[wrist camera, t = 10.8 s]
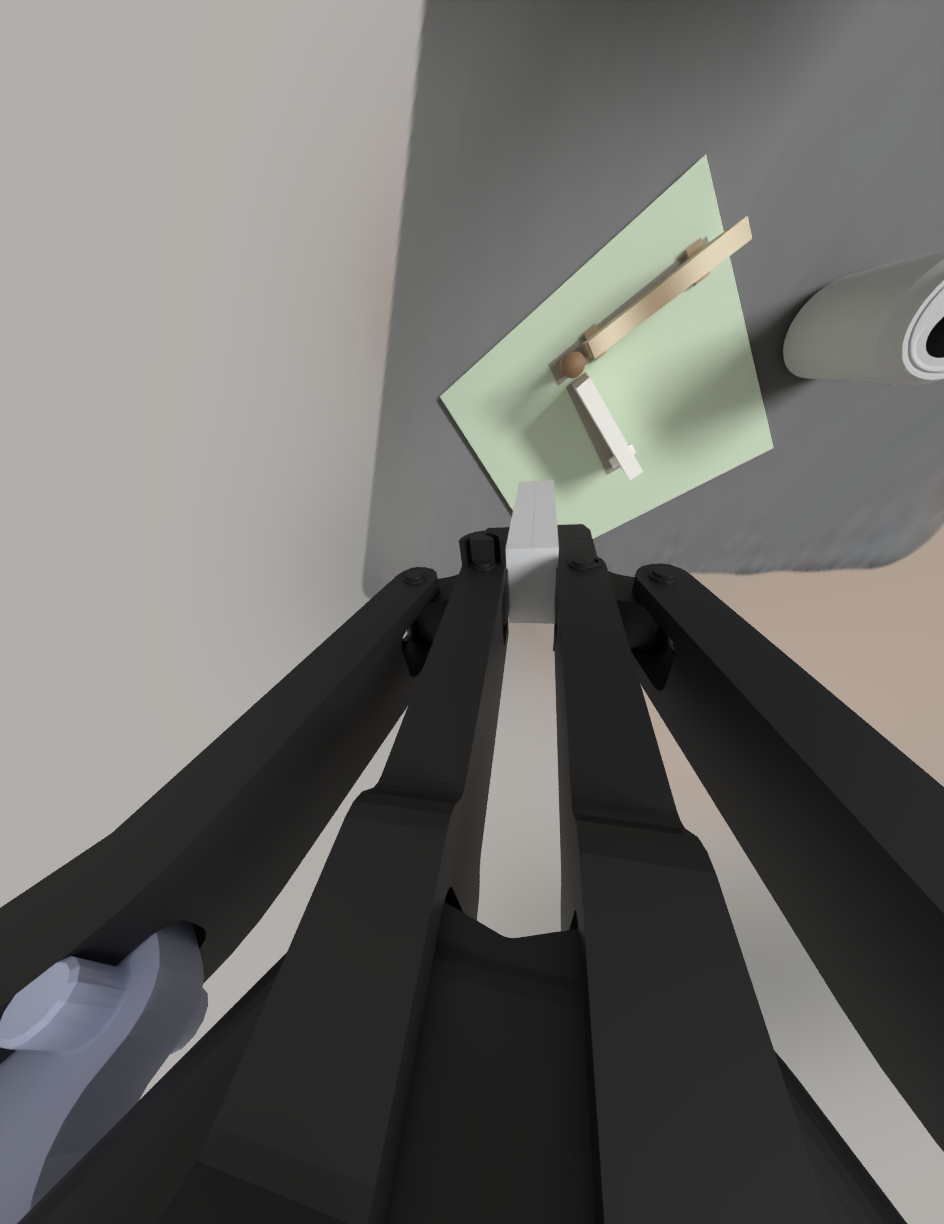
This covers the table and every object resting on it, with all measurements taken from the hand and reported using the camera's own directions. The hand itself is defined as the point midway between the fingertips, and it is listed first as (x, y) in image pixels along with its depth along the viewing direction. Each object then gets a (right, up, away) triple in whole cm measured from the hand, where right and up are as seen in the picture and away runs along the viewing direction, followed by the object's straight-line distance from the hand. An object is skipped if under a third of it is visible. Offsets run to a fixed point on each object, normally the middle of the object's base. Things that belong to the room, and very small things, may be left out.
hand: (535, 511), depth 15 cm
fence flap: (+10, +14, +17) cm, 24 cm away
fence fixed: (+10, +20, +13) cm, 26 cm away
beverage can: (+26, +18, +12) cm, 34 cm away
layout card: (+10, +14, +18) cm, 25 cm away
